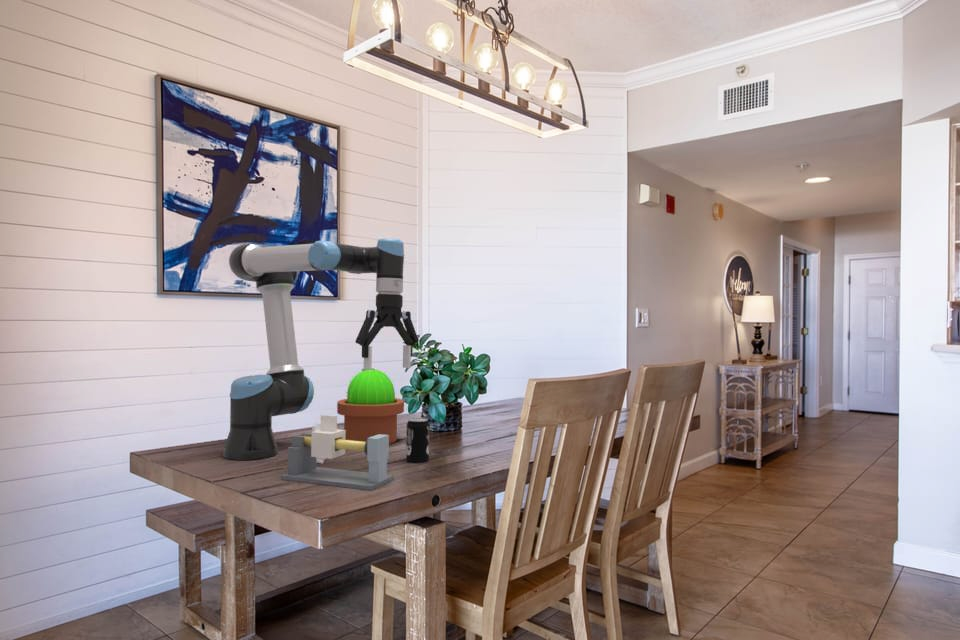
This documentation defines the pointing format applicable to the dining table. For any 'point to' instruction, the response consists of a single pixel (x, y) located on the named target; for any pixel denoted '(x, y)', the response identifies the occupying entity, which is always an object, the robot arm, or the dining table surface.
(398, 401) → the potted cactus
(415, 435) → the beverage can
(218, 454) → the dining table surface
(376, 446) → the grey rod stand
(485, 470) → the dining table surface
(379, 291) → the robot arm
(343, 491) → the dining table surface
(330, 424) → the sleeve
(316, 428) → the figurine
